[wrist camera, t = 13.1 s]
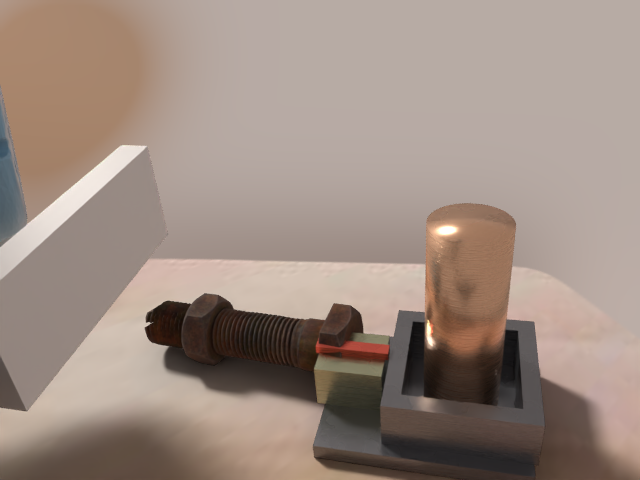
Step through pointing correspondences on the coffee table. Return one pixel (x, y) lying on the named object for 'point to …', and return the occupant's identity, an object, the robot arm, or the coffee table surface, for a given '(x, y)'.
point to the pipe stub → (466, 301)
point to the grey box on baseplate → (427, 408)
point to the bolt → (248, 332)
